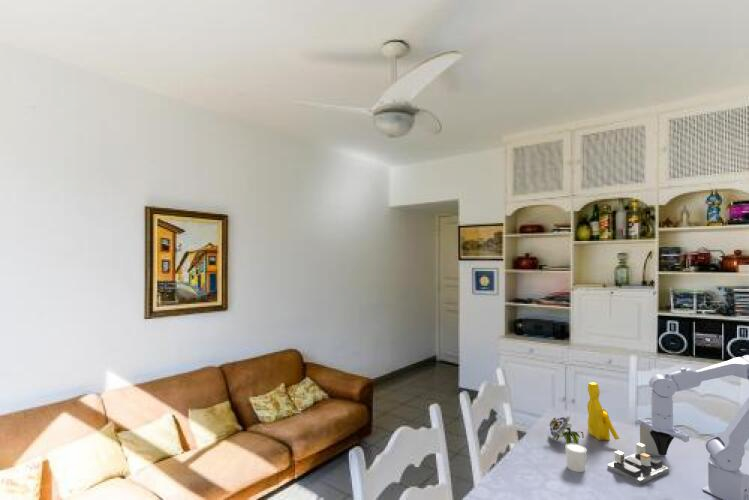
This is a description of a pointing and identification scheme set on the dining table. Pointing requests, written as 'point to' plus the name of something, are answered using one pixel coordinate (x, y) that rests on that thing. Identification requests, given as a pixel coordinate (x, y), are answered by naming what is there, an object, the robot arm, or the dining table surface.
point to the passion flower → (563, 430)
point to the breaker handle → (645, 459)
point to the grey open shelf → (637, 466)
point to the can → (648, 440)
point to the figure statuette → (598, 416)
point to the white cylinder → (576, 457)
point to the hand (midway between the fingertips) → (662, 454)
